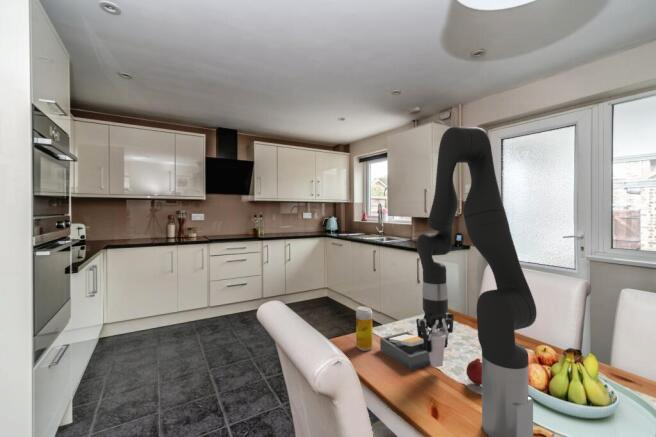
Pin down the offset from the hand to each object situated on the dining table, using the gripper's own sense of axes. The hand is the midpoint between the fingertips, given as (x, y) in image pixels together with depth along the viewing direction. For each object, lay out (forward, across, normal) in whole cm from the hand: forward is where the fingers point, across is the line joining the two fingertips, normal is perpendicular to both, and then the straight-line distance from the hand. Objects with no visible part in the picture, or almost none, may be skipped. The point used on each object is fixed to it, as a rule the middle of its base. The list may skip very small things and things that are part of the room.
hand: (436, 348), depth 92 cm
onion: (+8, +6, -10) cm, 14 cm away
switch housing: (+8, 0, +13) cm, 15 cm away
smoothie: (+5, 0, 0) cm, 5 cm away
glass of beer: (+8, -10, +26) cm, 29 cm away
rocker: (+3, 0, +13) cm, 13 cm away
